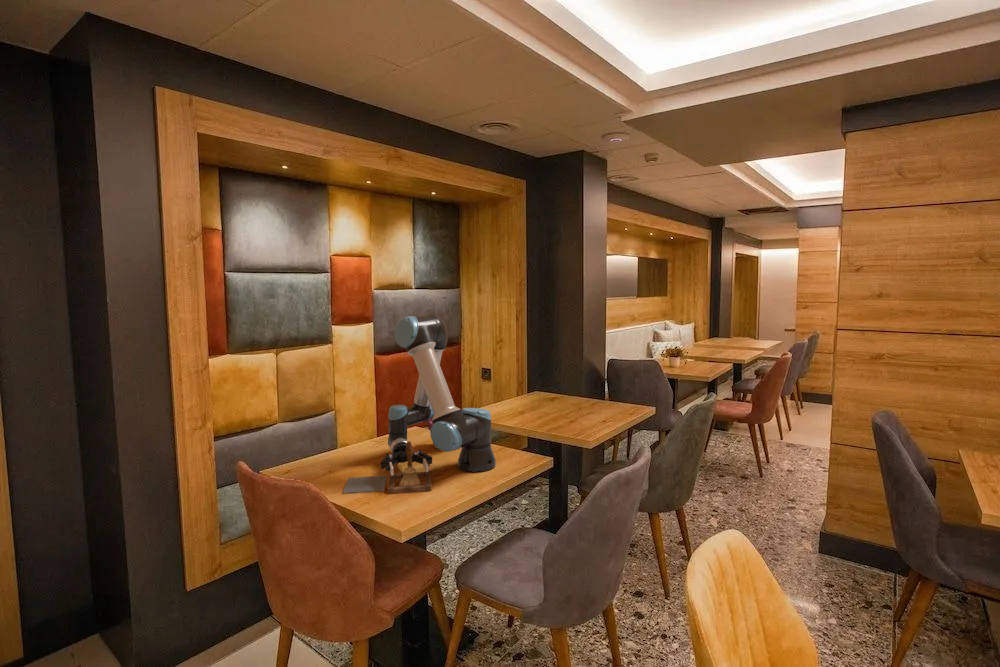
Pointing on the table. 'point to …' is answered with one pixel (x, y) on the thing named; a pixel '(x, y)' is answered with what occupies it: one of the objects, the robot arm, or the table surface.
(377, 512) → the table surface
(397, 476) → the square frame
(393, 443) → the robot arm
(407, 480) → the hand bell
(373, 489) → the rubber mat
